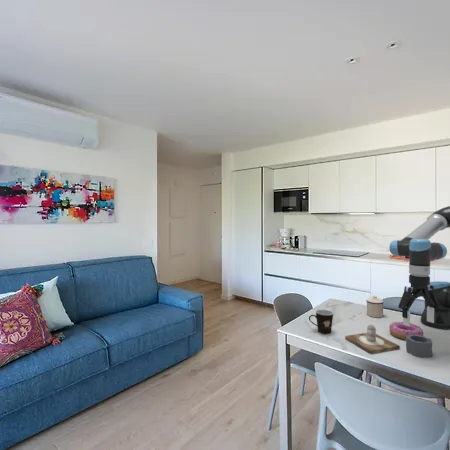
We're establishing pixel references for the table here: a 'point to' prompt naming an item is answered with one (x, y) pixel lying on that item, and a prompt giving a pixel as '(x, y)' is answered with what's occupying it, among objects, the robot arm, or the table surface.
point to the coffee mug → (323, 321)
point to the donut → (404, 330)
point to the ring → (419, 345)
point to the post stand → (372, 341)
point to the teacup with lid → (375, 307)
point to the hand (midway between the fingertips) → (418, 323)
